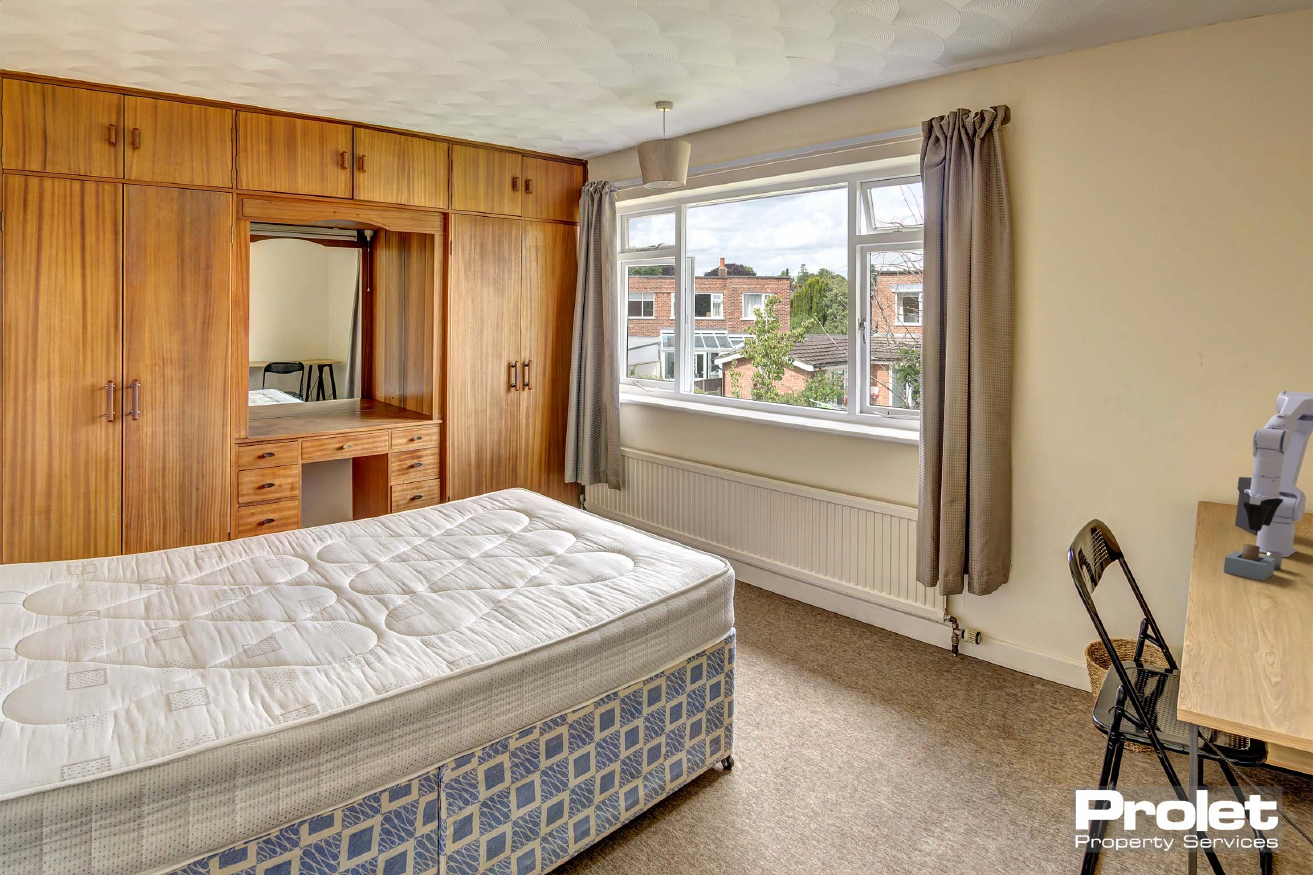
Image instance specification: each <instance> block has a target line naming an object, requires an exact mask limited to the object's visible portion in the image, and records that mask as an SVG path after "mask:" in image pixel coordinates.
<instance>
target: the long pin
mask: <svg viewBox="0 0 1313 875" xmlns="http://www.w3.org/2000/svg"><path fill="white" fill-rule="evenodd" d="M1259 551H1260V547H1259V546H1256V544H1250V543H1244V544H1243V545H1242V551H1241V552H1242V559H1247V560H1252V561H1256V562H1258V558H1259V555H1260V552H1259Z"/></svg>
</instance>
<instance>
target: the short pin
mask: <svg viewBox="0 0 1313 875" xmlns="http://www.w3.org/2000/svg"><path fill="white" fill-rule="evenodd" d="M1265 557H1270V558H1275V567H1274V571H1282V570H1281V569H1282V563H1283V558H1284V557H1283V554H1282V553H1279V552H1275V551H1267V552H1266V553H1265Z"/></svg>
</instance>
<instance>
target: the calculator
mask: <svg viewBox="0 0 1313 875" xmlns="http://www.w3.org/2000/svg"><path fill="white" fill-rule="evenodd" d="M1251 481H1252V476H1251V477H1250V476H1249V477H1248V476H1247V477H1246V476H1245V477H1244V476H1240V477H1238V482H1237V487H1236V488H1237V490H1238V499H1237V507H1236V513H1235V514H1236V515H1235V520H1234V521H1235V522H1234V523H1235V526H1236V527H1238V528H1241V529H1242V530H1244V531H1246V532H1248V533H1251V535H1254V536H1257V534H1258V531H1255V530H1250V528H1249V523H1248V516H1247V512H1246V510H1245V508H1244V506H1243V502H1244V501H1250V495H1249V494H1248V493H1244V490H1246V489H1249V490H1250V489H1251Z"/></svg>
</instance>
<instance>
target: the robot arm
mask: <svg viewBox="0 0 1313 875" xmlns="http://www.w3.org/2000/svg"><path fill="white" fill-rule="evenodd" d="M1276 412H1277V414H1274V415H1272V416H1271V417H1270V419H1269V420H1268V421H1267V422H1266V424H1265V425H1264V427H1261V428H1260V429H1256V430H1255V432H1254V434H1253V438H1252V448H1253V449H1252V451H1253V452H1252V457H1254V459H1253V460H1254V461H1253V468H1252V475H1251V478H1252V481H1251V489H1250V490H1249V489H1246V490H1244V493H1248V494H1249V495H1250V501H1244V502H1243V506H1244V508H1245V510H1246V512H1247V516H1248V523H1249V528H1250V530H1255V531H1258V534H1257V535H1256V542H1255V543H1256V544H1255V545H1256V546H1259V547H1260V551H1259V553H1262V554H1266V552H1267V551H1275V552H1279V553H1282V554H1283V557H1282V558H1289V557H1290V556H1291V555H1293V554H1294V553H1296V552H1297V551H1298V549H1297V548H1294V547H1293V546H1294V540H1295V532H1296V526H1295V523H1296V522H1299V521H1301V520H1302V519H1303V517H1304V515H1305V509H1306V500H1307V497H1306V495H1305V493H1304V491H1303V490H1301V489H1300V488H1298V486H1297V482H1298V478H1299V475H1300V472H1301V469H1302V464H1303V462H1304V457H1305V453H1306V451H1307V448H1308V447H1307V446H1308V442H1309V440H1310V437H1311V435H1312V433H1313V392H1300V391H1299V392H1298V391H1287V390H1282V391H1281V392H1280V393H1279V394H1278V396H1277V400H1276Z"/></svg>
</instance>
